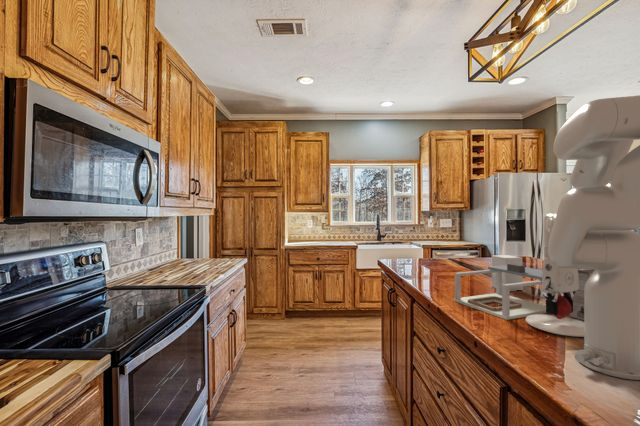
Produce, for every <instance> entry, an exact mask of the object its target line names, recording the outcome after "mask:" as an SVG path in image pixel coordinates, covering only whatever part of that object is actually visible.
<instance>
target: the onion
mask: <svg viewBox="0 0 640 426" xmlns="http://www.w3.org/2000/svg"><path fill="white" fill-rule="evenodd" d="M556 302H558V315H554V316H555V317H556V318H557V319H562V318H565V317H567V318H568V317H569V316H570V313H571V311H572V307H571V304H570V303H569V301H568V300H567V299H566V298H564V297H563V296H562V294H561V293H558V297H557V301H556ZM551 315H553V314H551Z"/></svg>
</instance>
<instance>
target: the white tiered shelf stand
mask: <svg viewBox="0 0 640 426" xmlns="http://www.w3.org/2000/svg"><path fill="white" fill-rule="evenodd" d="M495 272H496V288H495V293H485V294H478V295H472V296H469V295H468V296H463V297H461V295H462V294H461V293H462V292H461V291H462V290H461V287H462V286H461V282H462V281H461V276H463V277H464V276H471V275H473V276H474V275H481V274H482V275H483V274H492V273H495ZM537 285H538V286H539V285H542V280H539V279H536V280H529V281H523V282H520V283H511V284H503V285H502V272H500V271H495V270H490V269H482V270H481V269H480V270H473V271H461V272H460V271H459V272H454V298H453V302H455V303H459V304H461V305H464V306H467V307H469V308H472V309H475V310H478V311H480V312H484V313H487V314H489V315H492V316H494V317H497V318H501V319H503V320H506V321H508V320H513V319H518V318H519V319H520V318H526V317H527V316H529V315H535V314H548V313H547V312H546V304H540V303H538V302H537V303H536V302H534V301H531V300H527V299H523V298H519V297H516V296H512V295H510V293H511V291H510V288H515V287H530V286H537ZM553 291H554V290H553ZM550 293H551V292H550ZM551 294H552V296H553V294H554V293H551ZM493 302H494V303H498V304H501V305H502V306H491V305H487V304H488V303H493Z"/></svg>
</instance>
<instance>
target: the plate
mask: <svg viewBox="0 0 640 426" xmlns="http://www.w3.org/2000/svg"><path fill="white" fill-rule="evenodd" d="M525 322H526V323H527V324H528V325H529V326H531V327H534V328H536V329H538V330H541V331H544V332H548V333H550V334H555V335H561V336H567V337H568V336H569V337H578V338H579V337H580V338H581V337H582V338H584V321H583V320H582V321H581V320H580V319H576V318H575V319H574V318H573V317H571V318H570V317H568V316H567V317H565V318H562V319H557V318H556V317H555V316H554V315H552V314H546V313H544V314H535V315H529V316H526V317H525Z"/></svg>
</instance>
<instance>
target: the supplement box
mask: <svg viewBox="0 0 640 426" xmlns="http://www.w3.org/2000/svg"><path fill="white" fill-rule="evenodd" d="M507 264H519V265H523V257H521V256H515V255H509V254H499V255H498V254H497V255H496V254H494V255H491V266H502V265H507ZM523 277H524V276H520V275H515V274H510V273H505V272H502V285H503V284H511V283H520V282H524V280H523ZM523 287H524V286H523ZM523 287H515V288H510V292H518V291H517V290H522V291H523V290H524V288H523ZM491 288H494V289H496V272H495V273H491Z"/></svg>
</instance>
